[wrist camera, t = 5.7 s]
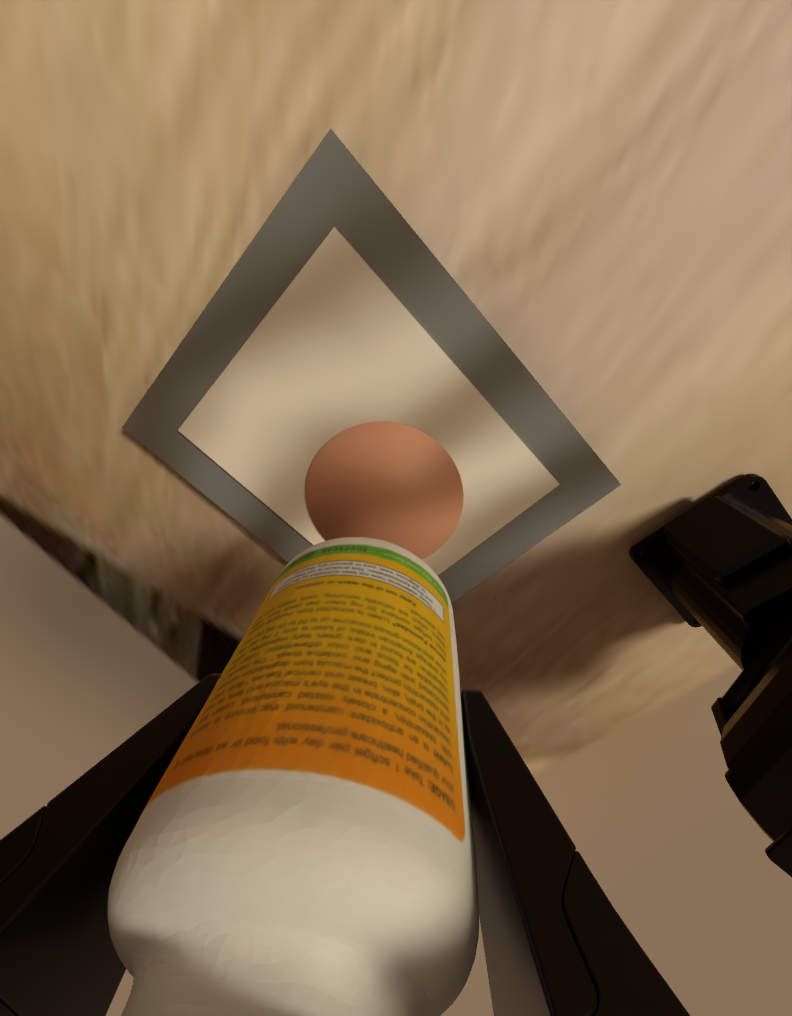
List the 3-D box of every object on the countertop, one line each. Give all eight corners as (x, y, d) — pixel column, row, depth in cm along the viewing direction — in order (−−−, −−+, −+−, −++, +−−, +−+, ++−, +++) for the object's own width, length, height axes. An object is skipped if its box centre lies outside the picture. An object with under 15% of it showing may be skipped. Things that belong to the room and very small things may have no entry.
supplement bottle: (247, 549, 11) (-346, 1306, 3) (432, 514, 11) (463, 1470, 2) (308, 683, 14) (93, 1345, 5) (466, 663, 13) (556, 1430, 4)
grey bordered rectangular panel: (613, 478, 19) (623, 486, 18) (392, 636, 24) (390, 650, 23) (335, 138, 14) (328, 124, 13) (133, 423, 20) (117, 429, 19)
